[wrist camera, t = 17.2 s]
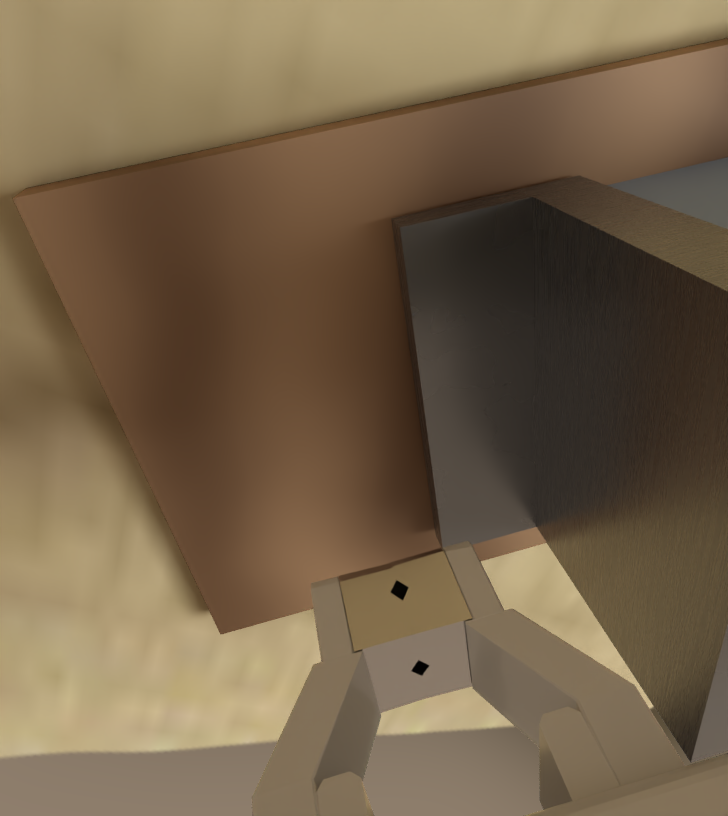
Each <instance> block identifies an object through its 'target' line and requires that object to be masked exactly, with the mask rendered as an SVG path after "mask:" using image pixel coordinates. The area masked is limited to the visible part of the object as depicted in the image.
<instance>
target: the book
mask: <svg viewBox="0 0 728 816" xmlns="http://www.w3.org/2000/svg"><path fill="white" fill-rule="evenodd" d="M607 186H610V187H613V188H616V189H618V190H621V191H624V192H627V193H629V194H632V195H635V196H638V197H640V198H643V199H646V200H649V201H651V202H654V203H657V204H660V205H662V206H665V207H668V208H671V209H673V210H676V211H679V212H682V213H685V214H687V215H690V216H693V217H696V218H698V219H701V220H704V221H707V222H709V223H712V224H715V225H718V226H720V227H723V228H726V229H728V157H727V158H722V159H718V160H714V161H709V162H705V163H701V164H697V165H692V166H688V167H684V168H679V169H675V170H671V171H666V172H662V173H658V174H653V175H649V176H645V177H640V178H636V179H632V180H628V181H623V182H619V183H615V184H610V185H607Z"/></svg>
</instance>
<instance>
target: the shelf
mask: <svg viewBox="0 0 728 816" xmlns="http://www.w3.org/2000/svg"><path fill="white" fill-rule="evenodd" d="M727 157H728V38H727V39H722V40H717V41H713V42H708V43H703V44H699V45H694V46H689V47H685V48H680V49H675V50H671V51H666V52H661V53H657V54H652V55H647V56H643V57H638V58H633V59H629V60H624V61H619V62H614V63H610V64H605V65H600V66H596V67H591V68H586V69H582V70H577V71H572V72H568V73H563V74H558V75H554V76H549V77H544V78H540V79H535V80H530V81H526V82H521V83H516V84H512V85H507V86H502V87H498V88H493V89H488V90H484V91H479V92H474V93H470V94H465V95H460V96H456V97H451V98H446V99H442V100H437V101H432V102H428V103H423V104H418V105H413V106H409V107H404V108H399V109H395V110H390V111H385V112H381V113H376V114H371V115H367V116H362V117H357V118H353V119H348V120H343V121H339V122H334V123H329V124H325V125H320V126H315V127H311V128H306V129H301V130H297V131H292V132H287V133H283V134H278V135H273V136H269V137H264V138H259V139H255V140H250V141H245V142H241V143H236V144H231V145H227V146H222V147H217V148H213V149H208V150H203V151H198V152H194V153H189V154H184V155H180V156H175V157H170V158H166V159H161V160H156V161H152V162H147V163H142V164H138V165H133V166H128V167H124V168H119V169H114V170H110V171H105V172H100V173H96V174H91V175H86V176H82V177H77V178H72V179H68V180H63V181H58V182H54V183H49V184H44V185H40V186H35V187H30V188H26V189H25V190H23V191H22V192H21V193H19V194H18V195H16V196H15V197H14V198H12V199H13V201H14V203H15V205H16V207H17V209H18V211H19V213H20V216H21V218H22V220H23V222H24V224H25V226H26V228H27V230H28V232H29V234H30V236H31V239H32V241H33V243H34V245H35V247H36V249H37V251H38V253H39V255H40V257H41V259H42V262H43V264H44V266H45V268H46V270H47V272H48V274H49V276H50V278H51V280H52V282H53V285H54V287H55V289H56V291H57V293H58V295H59V297H60V299H61V301H62V303H63V305H64V308H65V310H66V312H67V314H68V316H69V318H70V320H71V322H72V324H73V326H74V329H75V331H76V333H77V335H78V337H79V339H80V341H81V343H82V345H83V347H84V349H85V352H86V354H87V356H88V358H89V360H90V362H91V364H92V366H93V368H94V370H95V372H96V375H97V377H98V379H99V381H100V383H101V385H102V387H103V389H104V391H105V393H106V395H107V398H108V400H109V402H110V404H111V406H112V408H113V410H114V412H115V414H116V416H117V418H118V421H119V423H120V425H121V427H122V429H123V431H124V433H125V435H126V437H127V439H128V441H129V444H130V446H131V448H132V450H133V452H134V454H135V456H136V458H137V460H138V462H139V465H140V467H141V469H142V471H143V473H144V475H145V477H146V479H147V481H148V483H149V485H150V488H151V490H152V492H153V494H154V496H155V498H156V500H157V502H158V504H159V506H160V508H161V511H162V513H163V515H164V517H165V519H166V521H167V523H168V525H169V527H170V529H171V531H172V534H173V536H174V538H175V540H176V542H177V544H178V546H179V548H180V550H181V552H182V554H183V557H184V559H185V561H186V563H187V565H188V567H189V569H190V571H191V573H192V575H193V578H194V580H195V582H196V584H197V586H198V588H199V590H200V592H201V594H202V596H203V598H204V601H205V603H206V605H207V607H208V609H209V611H210V613H211V615H212V617H213V619H214V621H215V624H216V626H217V628H218V630H219V632H220V634H224V633H228V632H231V631H235V630H239V629H242V628H246V627H249V626H253V625H256V624H260V623H263V622H267V621H270V620H274V619H278V618H281V617H285V616H288V615H292V614H295V613H299V612H302V611H306V610H309V609H313V602H312V595H311V583H313V582H317V581H321V580H325V579H329V578H333V577H337V576H338V577H339V576H340V575H344V574H348V573H352V572H356V571H360V570H364V569H368V568H372V567H376V566H381V565H385V564H389V563H390V562H393V561H397V560H400V559H404V558H407V557H411V556H414V555H418V554H421V553H425V552H428V551H432V550H435V549H439V548H441V546H440V544H439V542H438V539H437V537H436V535H435V528H434V521H433V514H432V506H431V499H430V492H429V485H428V478H427V471H426V464H425V457H424V449H423V442H422V435H421V428H420V421H419V414H418V407H417V400H416V392H415V385H414V378H413V371H412V364H411V357H410V350H409V343H408V336H407V328H406V321H405V314H404V307H403V300H402V293H401V286H400V279H399V271H398V264H397V257H396V250H395V243H394V236H393V229H392V222H391V218H395V217H399V216H404V215H408V214H412V213H417V212H421V211H425V210H430V209H434V208H439V207H443V206H447V205H452V204H456V203H460V202H465V201H469V200H473V199H478V198H482V197H487V196H491V195H495V194H500V193H504V192H508V191H513V190H517V189H521V188H526V187H530V186H534V185H539V184H543V183H548V182H552V181H556V180H561V179H565V178H569V177H574V176H578V175H580V176H582V177H585V178H588V179H591V180H594V181H596V182H599V183H602V184H605V185H610V184H615V183H619V182H623V181H628V180H632V179H636V178H640V177H645V176H649V175H653V174H658V173H662V172H666V171H671V170H675V169H679V168H684V167H688V166H692V165H697V164H701V163H705V162H709V161H714V160H718V159H722V158H727ZM543 543H547V542H546V541H545V539H544V538H543V536H542V535H541V533H540V532H539V530H538V529H537V527H534V528H531V529H527V530H523V531H520V532H516V533H513V534H509V535H506V536H502V537H498V538H495V539H491V540H488V541H484V542H480V543H477V544H473V545H472V546H473V548H474V550H475V552H476V554H477V556H478V558H479V560H480V561H483V560H487V559H490V558H494V557H497V556H501V555H504V554H508V553H512V552H515V551H519V550H522V549H526V548H529V547H533V546H536V545H540V544H543ZM441 549H442V548H441Z"/></svg>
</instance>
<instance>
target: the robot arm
mask: <svg viewBox="0 0 728 816" xmlns="http://www.w3.org/2000/svg"><path fill="white" fill-rule="evenodd" d="M311 595H312V602H313V609H314V615H315V622H316V628H317V635H318V642H319V648H320V655H321V661H322V662H320V663H317V664H314V665H313V667H312V669H311V671H310V673H309V675H308V678H307V680H306V682H305V684H304V686H303V688H302V691H301V693H300V695H299V697H298V699H297V701H296V703H295V706H294V708H293V710H292V712H291V714H290V716H289V719H288V721H287V723H286V725H285V727H284V729H283V731H282V734H281V736H280V738H279V740H278V742H277V744H276V747H275V749H274V751H273V753H272V755H271V757H270V759H269V762H268V764H267V766H266V768H265V770H264V772H263V775H262V777H261V779H260V781H259V783H258V785H257V787H256V790H255V792H254V794H253V796H252V816H374V814H373V811H372V808H371V805H370V802H369V799H368V797H367V793H366V791H365V788H364V785H363V778H364V775H365V771H366V768H367V764H368V761H369V757H370V754H371V750H372V747H373V743H374V740H375V736H376V733H377V729H378V726H379V722H380V718H381V714H380V713H382V712H385V711H388V710H391V709H394V708H397V707H400V706H403V705H406V704H410V703H413V702H416V701H419V700H422V699H425V698H429V697H433V696H437V695H440V694H444V693H448V692H452V691H456V690H460V689H463V688H467V687H471V686H473V689H474V690H475V691H476V692H477V693H478V694H480V695H481V696H482V697H483V698H484V699H485V700H486V701H487V702H489V703H490V704H491V705H492V706H493V707H494V708H495V709H496V710H498V711H499V712H500V713H501V714H502V715H503V716H504V717H505V718H507V719H508V720H509V721H510V722H511V723H512V724H513V725H514V726H516V727H517V728H518V729H519V730H520V731H521V732H522V733H523V734H525V735H526V736H527V737H528V738H529V739H530V740H532V742H533V743H535V744H536V745H537V746H538V747H539V781H540V782H539V785H540V786H539V789H540V791H539V796H540V797H539V798H540V802H541V805H542V807H543V810H542V811H538V812H535V813H532V814H528V815H525V816H728V753H726V754H723V755H720V756H716V757H713V758H710V759H707V760H704V761H700V762H697V763H694V764H691V765H687V766H685V765H684V763H683V761H682V760H681V758H680V757H679V755H678V753H677V752H676V750H675V749H674V747H673V745H672V744H671V742H670V741H669V739H668V738H667V736H666V734H665V733H664V731H663V730H662V728H661V726H660V725H659V723H658V722H657V720H656V719H655V717H654V715H653V714H652V712H651V711H650V709H649V707H648V706H647V704H646V703H645V701H644V699H643V698H642V696H641V695H640V693H639V692H638V690H637V688H636V687H635V685H634V684H632V683H630V682H629V681H627V680H626V679H624V678H622V677H621V676H619V675H618V674H616V673H614V672H613V671H611V670H610V669H608V668H606V667H605V666H603V665H602V664H600V663H598V662H597V661H595V660H594V659H592V658H590V657H589V656H587V655H586V654H584V653H582V652H581V651H579V650H578V649H576V648H574V647H573V646H571V645H570V644H568V643H566V642H565V641H563V640H562V639H560V638H559V637H557V636H555V635H554V634H552V633H551V632H549V631H547V630H546V629H544V628H543V627H541V626H539V625H538V624H536V623H535V622H533V621H531V620H530V619H528V618H527V617H525V616H523V615H522V614H520V613H519V612H517V611H515V610H514V609H508V610H504V609H503V607H502V605H501V603H500V601H499V599H498V597H497V595H496V593H495V591H494V588H493V586H492V584H491V582H490V580H489V578H488V576H487V574H486V572H485V570H484V568H483V566H482V564H481V562H480V560H479V558H478V556H477V554H476V552H475V550H474V548H473V546H472V544H471V543H470V542H469V541H465V542H461V543H458V544H454V545H451V546H447V547H443V548H442V549H441V548H439V549H435V550H432V551H428V552H425V553H421V554H418V555H414V556H411V557H407V558H404V559H400V560H397V561H393V562H390V563H389V564H385V565H381V566H376V567H372V568H368V569H364V570H360V571H356V572H352V573H348V574H344V575H340V576H339V577H338V576H337V577H333V578H329V579H325V580H321V581H317V582H313V583H311Z"/></svg>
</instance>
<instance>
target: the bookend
mask: <svg viewBox="0 0 728 816" xmlns="http://www.w3.org/2000/svg"><path fill="white" fill-rule="evenodd" d="M391 222H392V229H393V236H394V243H395V250H396V257H397V264H398V271H399V279H400V286H401V293H402V300H403V307H404V314H405V321H406V328H407V336H408V343H409V350H410V357H411V364H412V371H413V378H414V385H415V392H416V400H417V407H418V414H419V421H420V428H421V435H422V442H423V449H424V457H425V464H426V471H427V478H428V485H429V492H430V499H431V506H432V514H433V521H434V528H435V535H436V537H437V539H438V542H439V544H440V546H441V548H443V547H447V546H451V545H454V544H458V543H461V542H465V541H469V542H470V543H471V544H472V545H473V544H477V543H480V542H484V541H488V540H491V539H495V538H498V537H502V536H506V535H509V534H513V533H516V532H520V531H523V530H527V529H531V528H534V527H537V529H538V530H539V532H540V533H541V535H542V536H543V538H544V539H545V541H546V542H547V544H548V545H549V547H550V548H551V550H552V551H553V553H554V554H555V556H556V558H557V559H558V561H559V562H560V564H561V565H562V567H563V568H564V570H565V571H566V573H567V574H568V576H569V577H570V579H571V580H572V582H573V583H574V585H575V587H576V588H577V590H578V591H579V593H580V594H581V596H582V597H583V599H584V600H585V602H586V603H587V605H588V606H589V608H590V609H591V611H592V613H593V614H594V616H595V617H596V619H597V620H598V622H599V623H600V625H601V626H602V628H603V629H604V631H605V632H606V634H607V635H608V637H609V638H610V640H611V642H612V643H613V645H614V646H615V648H616V649H617V651H618V652H619V654H620V655H621V657H622V658H623V660H624V661H625V663H626V664H627V666H628V667H629V669H630V671H631V672H632V674H633V675H634V677H635V678H636V680H637V681H638V683H639V684H640V686H641V687H642V689H643V690H644V692H645V693H646V695H647V696H648V698H649V700H650V701H651V703H652V704H653V706H654V707H655V709H656V710H657V712H658V713H659V715H660V716H661V718H662V719H663V721H664V722H665V724H666V725H667V727H668V729H669V730H670V731H671V733H672V735H673V736H674V737H675V739H676V741H677V742H678V744H679V745H680V747H681V748H682V750H683V751H684V753H685V754H686V756H687V758H688V759H689V760H690V762H694V761H698V760H701V759H704V758H706V757H710V756H713V755H716V754H719V753H722V752H725V751H728V229H726V228H723V227H720V226H718V225H715V224H712V223H709V222H707V221H704V220H701V219H698V218H696V217H693V216H690V215H687V214H685V213H682V212H679V211H676V210H673V209H671V208H668V207H665V206H662V205H660V204H657V203H654V202H651V201H649V200H646V199H643V198H640V197H638V196H635V195H632V194H629V193H627V192H624V191H621V190H618V189H616V188H613V187H610V186H607V185H605V184H602V183H599V182H596V181H594V180H591V179H588V178H585V177H582V176H580V175H578V176H574V177H569V178H565V179H561V180H556V181H552V182H548V183H543V184H539V185H534V186H530V187H526V188H521V189H517V190H513V191H508V192H504V193H500V194H495V195H491V196H487V197H482V198H478V199H473V200H469V201H465V202H460V203H456V204H452V205H447V206H443V207H439V208H434V209H430V210H425V211H421V212H417V213H412V214H408V215H404V216H399V217H395V218H391Z"/></svg>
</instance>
